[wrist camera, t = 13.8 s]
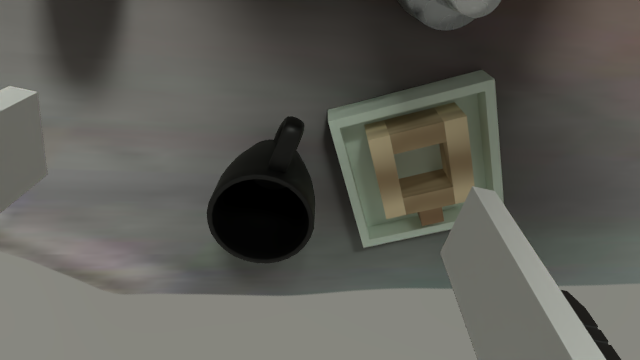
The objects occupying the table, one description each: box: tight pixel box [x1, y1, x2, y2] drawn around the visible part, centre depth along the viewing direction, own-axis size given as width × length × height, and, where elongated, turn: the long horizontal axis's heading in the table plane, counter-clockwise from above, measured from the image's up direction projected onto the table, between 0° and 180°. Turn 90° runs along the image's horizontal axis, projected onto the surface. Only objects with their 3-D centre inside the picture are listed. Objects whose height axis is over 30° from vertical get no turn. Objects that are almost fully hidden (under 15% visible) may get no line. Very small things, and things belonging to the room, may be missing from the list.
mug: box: [207, 116, 315, 263], centre depth 35 cm, size 8×12×10 cm
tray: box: [328, 70, 504, 248], centre depth 38 cm, size 14×14×3 cm
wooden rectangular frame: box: [364, 102, 475, 226], centre depth 37 cm, size 10×8×4 cm
